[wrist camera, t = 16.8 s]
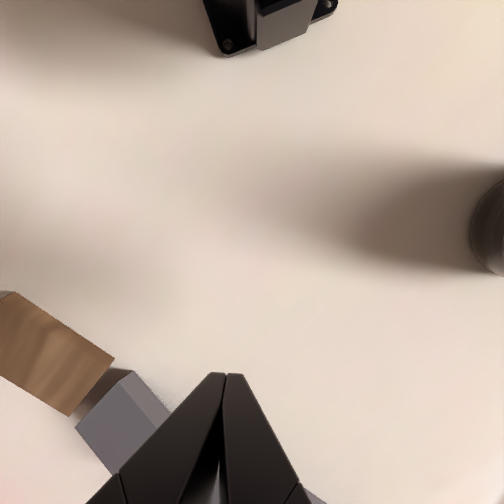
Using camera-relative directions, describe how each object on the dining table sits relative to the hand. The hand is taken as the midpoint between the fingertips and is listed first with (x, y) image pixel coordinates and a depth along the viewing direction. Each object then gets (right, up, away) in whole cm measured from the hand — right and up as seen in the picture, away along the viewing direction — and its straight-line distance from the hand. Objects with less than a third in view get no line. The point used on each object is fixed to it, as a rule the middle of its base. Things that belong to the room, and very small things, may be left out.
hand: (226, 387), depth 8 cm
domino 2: (-10, -7, +14) cm, 18 cm away
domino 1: (-17, -1, +13) cm, 21 cm away
